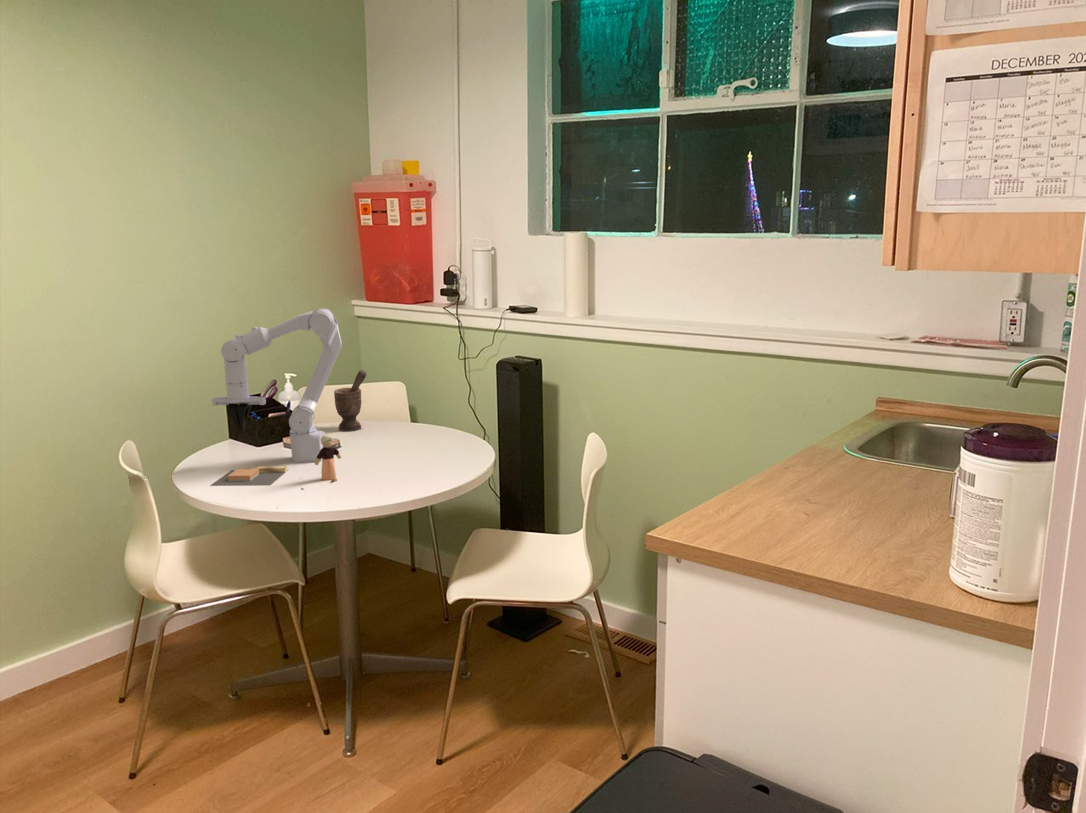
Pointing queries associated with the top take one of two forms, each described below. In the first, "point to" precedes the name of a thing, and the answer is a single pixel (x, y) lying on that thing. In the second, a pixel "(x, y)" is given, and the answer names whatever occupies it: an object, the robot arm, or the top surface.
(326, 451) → the grandmother figurine
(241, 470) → the tile
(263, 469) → the light wooden plank
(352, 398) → the mortar and pestle
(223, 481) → the mat
